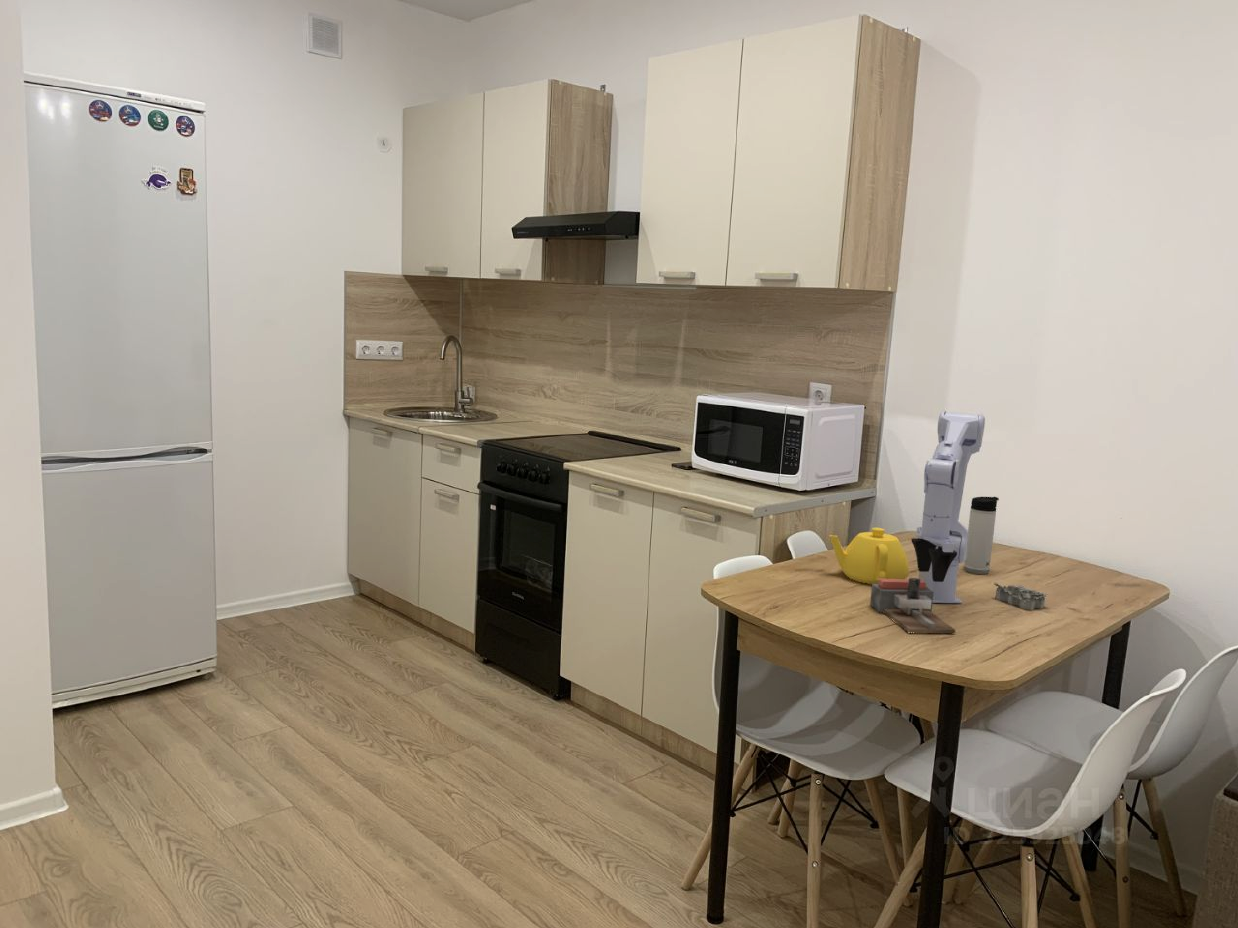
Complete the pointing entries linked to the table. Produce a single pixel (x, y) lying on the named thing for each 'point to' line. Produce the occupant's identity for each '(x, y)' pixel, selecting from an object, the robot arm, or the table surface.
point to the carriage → (912, 598)
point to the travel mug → (980, 534)
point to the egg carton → (1020, 596)
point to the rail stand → (912, 621)
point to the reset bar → (898, 583)
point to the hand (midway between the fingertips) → (930, 576)
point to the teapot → (872, 557)
